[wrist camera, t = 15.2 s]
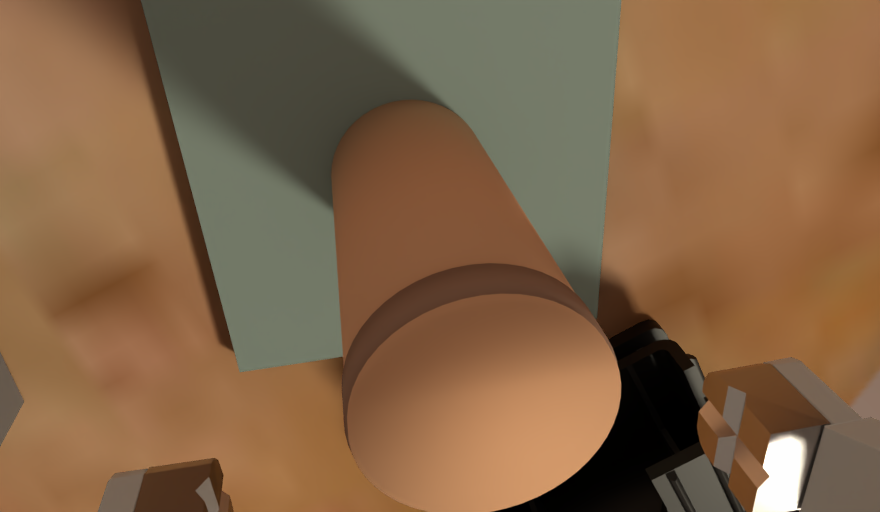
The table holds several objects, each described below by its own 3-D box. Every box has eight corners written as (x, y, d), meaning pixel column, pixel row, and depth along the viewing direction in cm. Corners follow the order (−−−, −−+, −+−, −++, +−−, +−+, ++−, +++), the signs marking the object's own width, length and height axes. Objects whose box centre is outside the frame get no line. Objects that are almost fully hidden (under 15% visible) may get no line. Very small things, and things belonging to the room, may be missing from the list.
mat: (588, 305, 24) (597, 318, 23) (241, 356, 22) (239, 372, 22) (614, -72, 18) (626, -69, 17) (139, -35, 16) (132, -30, 16)
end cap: (506, 528, 29) (555, 692, 23) (428, 432, 26) (463, 596, 20) (716, 423, 28) (822, 566, 22) (665, 306, 24) (776, 440, 19)
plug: (487, 234, 21) (613, 492, 12) (340, 253, 20) (362, 536, 11) (483, 89, 18) (636, 278, 10) (318, 107, 18) (324, 322, 9)
